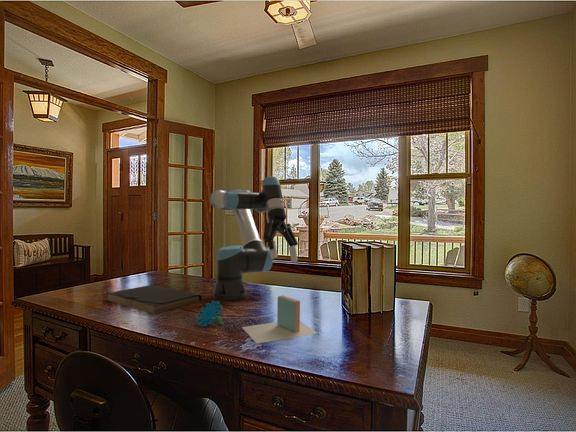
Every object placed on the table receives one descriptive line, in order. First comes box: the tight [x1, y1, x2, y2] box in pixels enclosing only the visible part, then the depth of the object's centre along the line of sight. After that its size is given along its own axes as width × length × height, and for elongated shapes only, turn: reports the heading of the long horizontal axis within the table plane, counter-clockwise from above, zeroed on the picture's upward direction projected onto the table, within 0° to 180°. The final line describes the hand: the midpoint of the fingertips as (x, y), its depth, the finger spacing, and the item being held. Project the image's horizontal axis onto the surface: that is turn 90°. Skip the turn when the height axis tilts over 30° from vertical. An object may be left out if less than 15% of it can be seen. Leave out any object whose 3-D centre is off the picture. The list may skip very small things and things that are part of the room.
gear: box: [196, 300, 224, 328], centre depth 115 cm, size 11×6×10 cm
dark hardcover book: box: [107, 284, 202, 315], centre depth 144 cm, size 33×4×24 cm
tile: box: [276, 295, 301, 332], centre depth 110 cm, size 2×9×10 cm, turn 40°
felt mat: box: [241, 320, 318, 344], centre depth 109 cm, size 15×21×1 cm
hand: (284, 259), depth 130 cm, fingers open, 13 cm apart
